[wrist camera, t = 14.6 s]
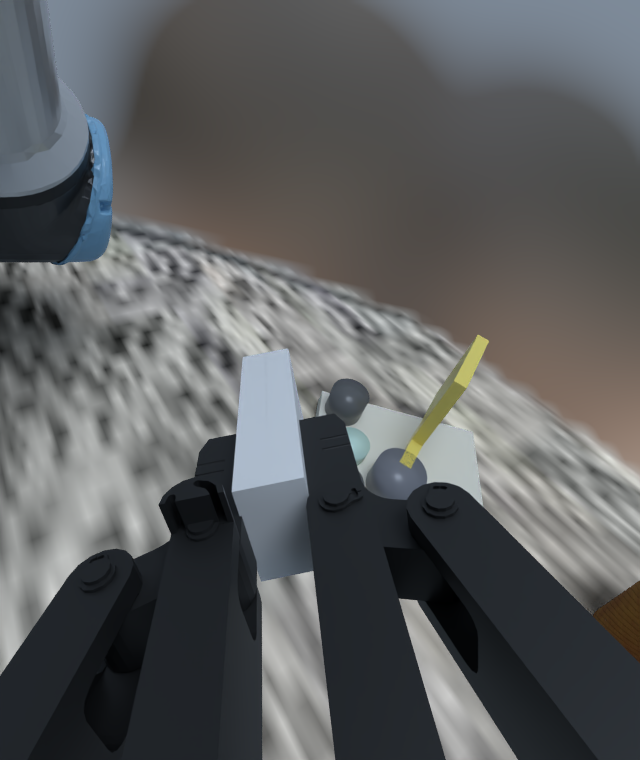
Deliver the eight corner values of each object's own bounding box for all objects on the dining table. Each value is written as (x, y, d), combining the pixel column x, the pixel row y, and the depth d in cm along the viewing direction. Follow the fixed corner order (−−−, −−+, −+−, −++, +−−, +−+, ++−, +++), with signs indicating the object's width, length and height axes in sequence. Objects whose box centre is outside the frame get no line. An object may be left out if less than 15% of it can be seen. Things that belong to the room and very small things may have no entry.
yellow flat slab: (403, 520, 44) (465, 451, 35) (357, 490, 44) (407, 415, 36) (449, 423, 53) (506, 350, 45) (411, 400, 54) (460, 324, 46)
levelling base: (298, 525, 43) (312, 499, 39) (317, 402, 53) (329, 373, 50) (479, 567, 45) (508, 547, 41) (464, 441, 55) (486, 416, 52)
